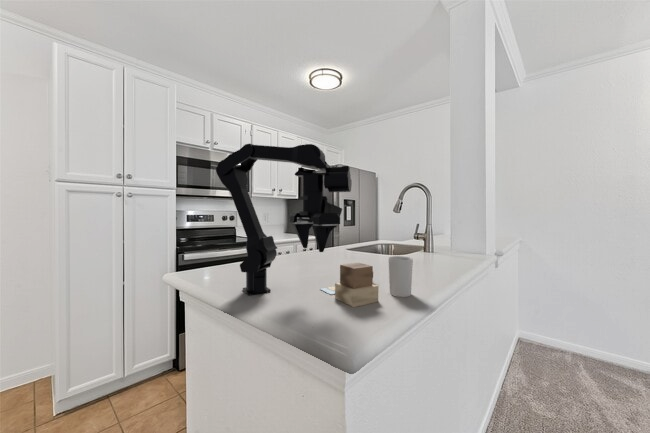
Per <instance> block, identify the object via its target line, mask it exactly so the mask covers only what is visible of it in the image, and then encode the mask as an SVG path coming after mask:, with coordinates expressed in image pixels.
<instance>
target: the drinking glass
mask: <svg viewBox="0 0 650 433" xmlns="http://www.w3.org/2000/svg"><path fill="white" fill-rule="evenodd" d="M413 260H414V259H413V258H412V257H410V256H400V255H399V256H398V255H397V256H396V255H393V256H388V274H389V275H388V279H389V281H388V282H389V294H390V295H392V296H394V297H397V298H398V297H399V298H407V297H411V295H412V285H413V284H412V283H413V265H414V264H413V263H414V261H413Z"/></svg>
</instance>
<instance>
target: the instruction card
mask: <svg viewBox="0 0 650 433" xmlns="http://www.w3.org/2000/svg"><path fill="white" fill-rule="evenodd" d="M319 290H320V291H321V292H324V293H326V294H328V295H330V296H333V295H335V285H334V286H329V287H323V288H319Z"/></svg>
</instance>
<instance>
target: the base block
mask: <svg viewBox="0 0 650 433" xmlns="http://www.w3.org/2000/svg"><path fill="white" fill-rule="evenodd" d="M334 286H335V294H334V298H335V299H336V300H338V301H340V302H342V303H344V304H346V305H348V306H350V307H352V308H356V307H360V306H364V305H369V304H373V303H377V302H379V285H377V284H373V286H368V287H362V288H356V289H353V288H350V287H348V286H345V285H343V284H340V281H339V282H335V283H334Z"/></svg>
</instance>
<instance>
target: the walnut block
mask: <svg viewBox="0 0 650 433" xmlns="http://www.w3.org/2000/svg"><path fill="white" fill-rule="evenodd" d="M373 278H374V270H373V266H372V265H370V264H366V263H362V262H353V263H352V262H351V263H342V264H340V265H339V282H340V284H343V285H345V286H348V287H350V288H353V289H356V288H362V287H368V286H373V283H374V282H373Z"/></svg>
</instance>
